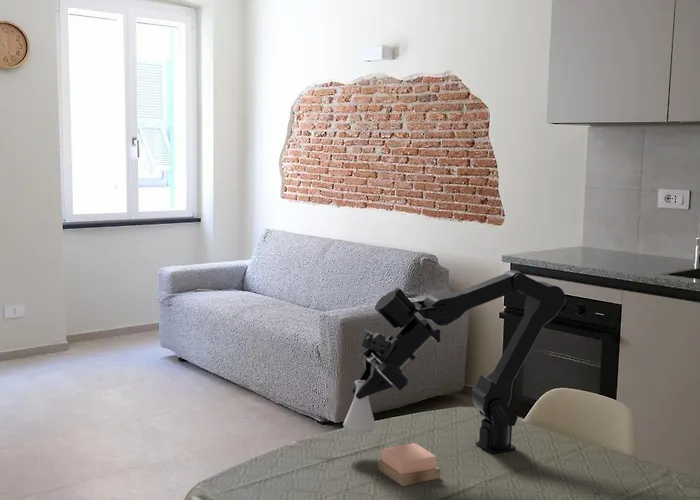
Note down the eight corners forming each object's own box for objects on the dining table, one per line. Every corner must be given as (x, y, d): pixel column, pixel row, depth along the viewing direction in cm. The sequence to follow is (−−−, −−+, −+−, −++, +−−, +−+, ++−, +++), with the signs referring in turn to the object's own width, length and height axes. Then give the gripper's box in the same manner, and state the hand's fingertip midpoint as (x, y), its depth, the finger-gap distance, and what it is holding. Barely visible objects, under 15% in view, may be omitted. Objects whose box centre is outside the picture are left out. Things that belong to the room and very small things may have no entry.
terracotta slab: (414, 454, 169) (414, 443, 168) (435, 468, 162) (436, 456, 161) (381, 460, 165) (381, 448, 165) (401, 474, 158) (401, 462, 158)
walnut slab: (414, 465, 169) (414, 453, 169) (439, 480, 162) (440, 468, 161) (377, 472, 165) (378, 460, 165) (402, 488, 157) (402, 476, 157)
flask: (373, 435, 168) (376, 388, 166) (339, 431, 169) (342, 384, 168) (378, 424, 175) (381, 379, 173) (346, 420, 176) (348, 375, 175)
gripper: (370, 308, 179) (320, 358, 178) (394, 326, 161) (338, 382, 160) (403, 341, 181) (354, 391, 180) (430, 363, 163) (376, 419, 162)
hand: (355, 395), depth 171 cm, fingers closed on flask, 3 cm apart
